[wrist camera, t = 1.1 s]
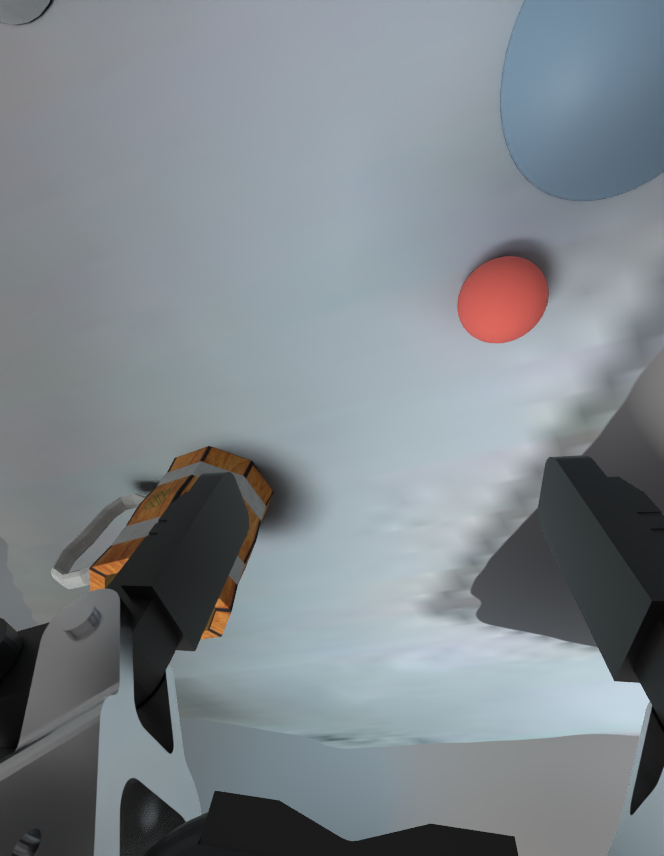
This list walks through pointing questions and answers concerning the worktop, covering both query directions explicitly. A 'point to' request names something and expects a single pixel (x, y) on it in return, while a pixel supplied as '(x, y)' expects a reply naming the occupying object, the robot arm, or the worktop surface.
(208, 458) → the brown wooden cylinder
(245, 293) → the worktop surface
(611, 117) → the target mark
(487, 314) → the ball
